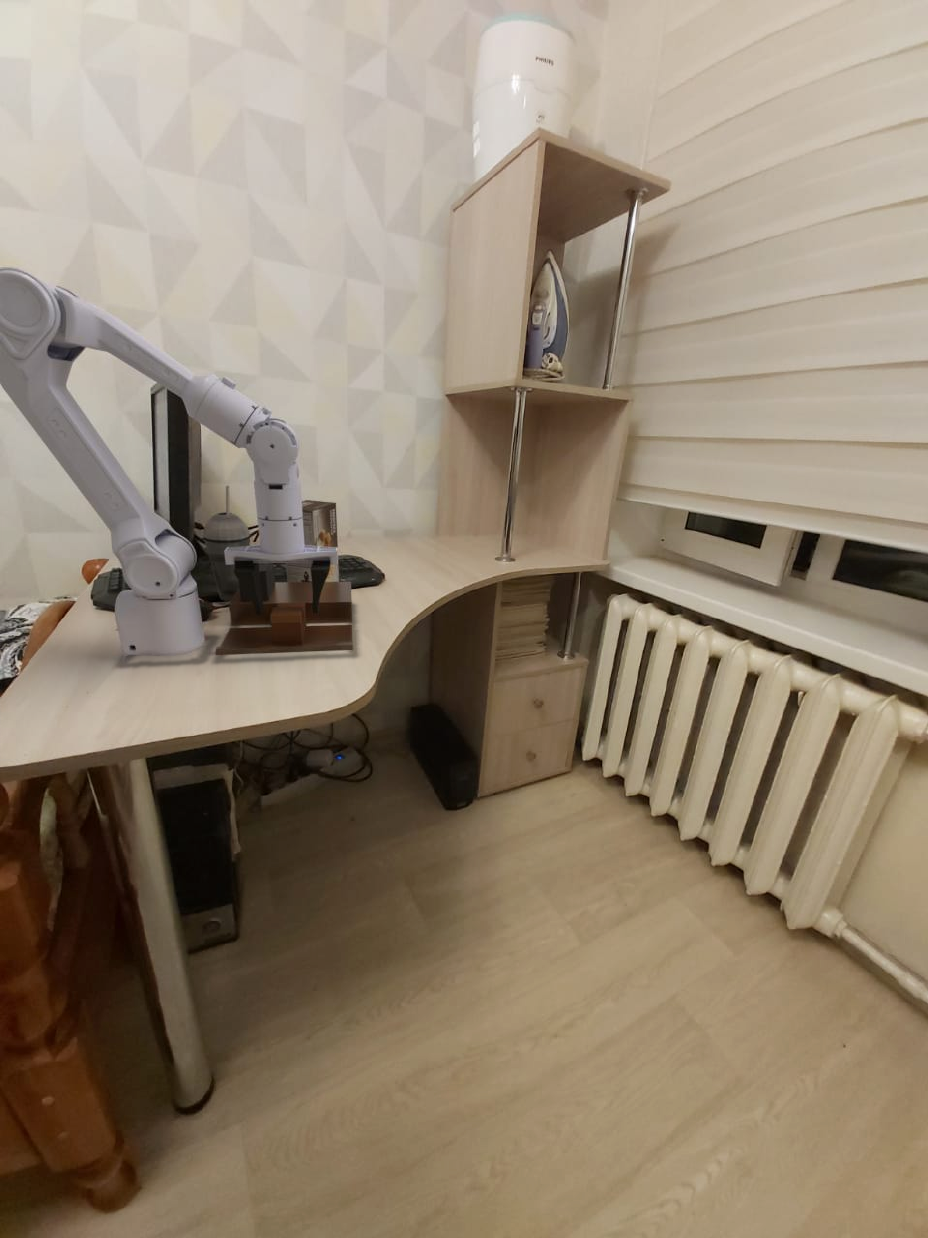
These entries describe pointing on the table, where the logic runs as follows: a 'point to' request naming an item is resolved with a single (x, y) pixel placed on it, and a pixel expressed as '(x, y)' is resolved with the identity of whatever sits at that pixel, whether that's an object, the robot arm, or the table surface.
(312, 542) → the coffee box
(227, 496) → the beverage cup
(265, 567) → the dark grey block
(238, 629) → the shoe stand
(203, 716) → the table surface
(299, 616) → the brown block
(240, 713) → the table surface
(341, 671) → the table surface
